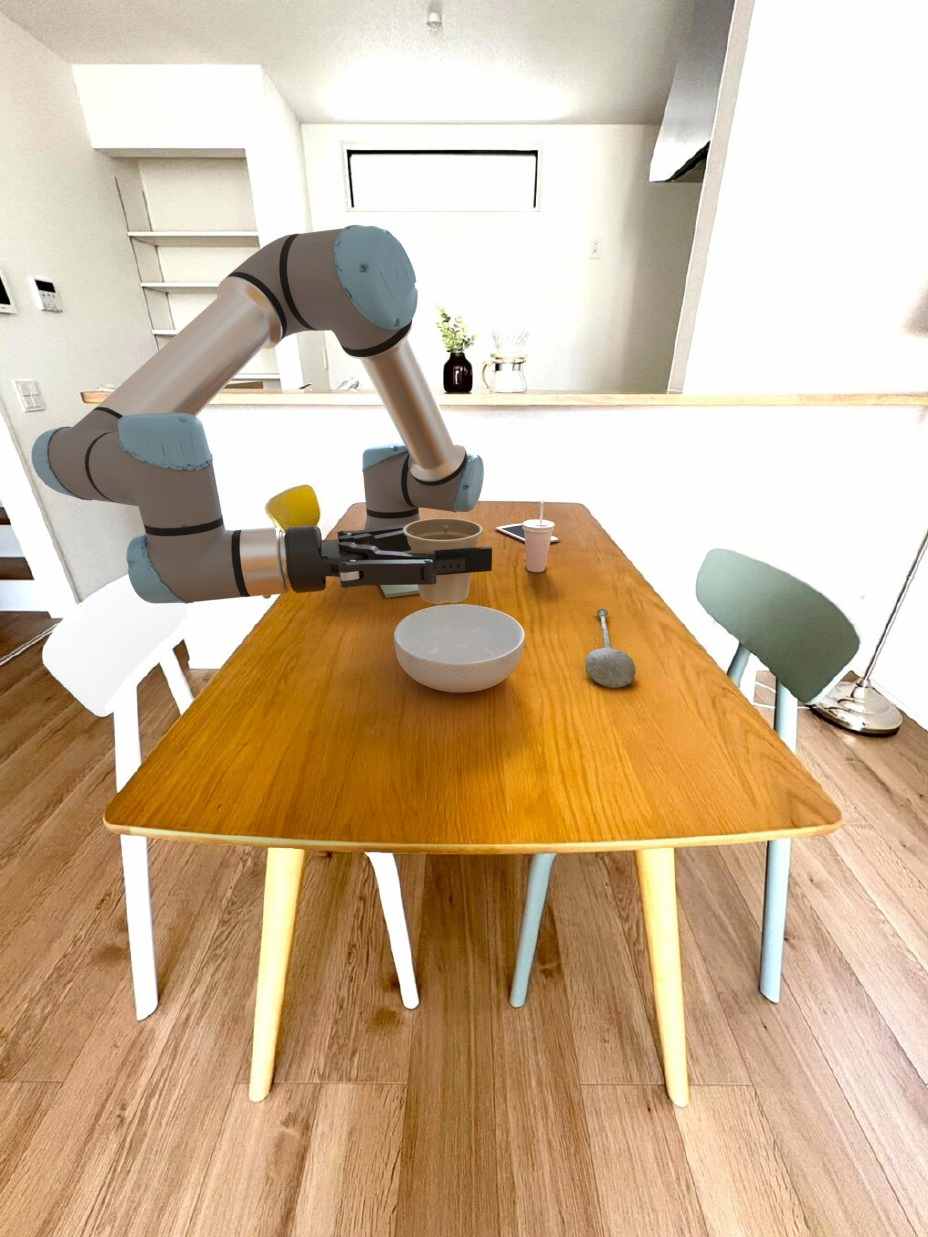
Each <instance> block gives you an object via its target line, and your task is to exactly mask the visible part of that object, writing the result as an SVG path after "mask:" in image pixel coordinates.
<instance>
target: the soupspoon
mask: <svg viewBox="0 0 928 1237" xmlns="http://www.w3.org/2000/svg"><path fill="white" fill-rule="evenodd" d="M596 615H597V617H598V618H600V624H601V631H602V639H603V647H600V648H596V649H593V650H591V651H590V652H589V653H588V654H587V655H586V657H585V659H584V660H585V662H584V663H585V671H586V673H587V674H588V676H589V677H590V678H591V679H592V680H593V681H594V682H595V683H597V684H599V685H601V686H604V687H606V688H609V689H610V688H611V689H616V688H619V689H620V688H624V687H626V686H628V685H630V684H631V683H632V682H633V681H634V678H635V677H636V664H635V662H634V660H633V658H632V657H631V656H630V655H629V654H628V653H626V652H624V651H622V650H620V649H618V648H613V647H612V644H611V639H610V634H609V629H608V626H607V621H606V619H607V616H608V615H609V611H608V609H606V608H605V607H600V608H598V609H597V610H596Z"/></svg>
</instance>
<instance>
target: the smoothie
mask: <svg viewBox="0 0 928 1237" xmlns="http://www.w3.org/2000/svg"><path fill="white" fill-rule="evenodd" d="M544 505H545V504H544V501H540V508H539V519H528V520H526V521H523V522H522V524H523V527H522V528H523V529H524V536H525V542H524V549H525V560H526V561H525V562H526V570H527V571H529V572H531V573H541V572H544V571H545V570H546V565H547V561H548V556H549V550H550V545H551V543H550V541H551V536H553V531H554V530H555V523H554V522H553V521H550V520H547V519H543V518H544Z"/></svg>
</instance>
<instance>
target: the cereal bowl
mask: <svg viewBox="0 0 928 1237" xmlns="http://www.w3.org/2000/svg"><path fill="white" fill-rule="evenodd" d="M525 640H526V632H525V630H524V628H523V626H522V625H521V623H519V621H518V620H516V619H515V618H514V617H512V616H510V615H509V614H507V613H505V612H502V611H501V610H497V609H494V608H491V607H487V606H481V605H476V604H465V603H464V604H463V603H459V604H458V603H452V604H440V605H436V606H435V605H434V606H429V607H426V608H422V609H420V610H416V611H414V612H413V613H410V614H408V615H407V616H405V617H403V618H402V619H401V620H400V621H399V622H398V624H396V626H395V628H394V630H393V645H394V652H395V655H396V657H397V660H398V663H399V665H400V666H401V668H402V669H403V670H404V672H406V674H407V675H408V676H409V677H410V678H411V679H413V680H414V681H415V682H417V683H418V684H420V685H423V686H425V687H427V688H429V689H430V688H431V689H433V690H437V691H441V692H445V693H446V692H447V693H457V694H459V693H473V692H479V691H483V690H486V689H490V688H493V687H494V686H496V685H498V684H500V683H502V682H503V681H504V680H506V679H507V678H508V677H510V675H512V674H513V673H514V672H515V670H516V668H518V665H519V664H520V662H521V659H522V657H523V653H524V647H525Z"/></svg>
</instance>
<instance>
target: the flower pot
mask: <svg viewBox="0 0 928 1237" xmlns="http://www.w3.org/2000/svg"><path fill="white" fill-rule="evenodd" d="M483 532H484V528H483V526H482V525H481V524H479V523H477V522H476V521H475V522H474V521H471V520H468V519H463V518H454V517H453V518H452V517H435V518H434V517H433V518H426V519H420V520H419V521H415V522H412V523H410V524H408V525H406V526H405V527H404V529H403V533H404V535H405V536H407V540H408V544H409V546H410V547H411V551H412V553H424V554H434V550H450V549H462V548H476V547H477V546H478V544H479V541H480V536H481V535H482V534H483ZM434 555H435V554H434ZM472 574H473V572H472V573H460V574H448V575H436V580H437V583H436V584H433V585H430V584H429V585H418V589H419V594H418V595H419V596H420V598H421V599H422V600H424V601H425V602H427V603H431V604H436V605H443V604H444V603H451V604H458V603H460V602H462V601H464V600H465V599H467V598H468V597H469V594H470V589H471V588H470V586H471V580H472Z"/></svg>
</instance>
